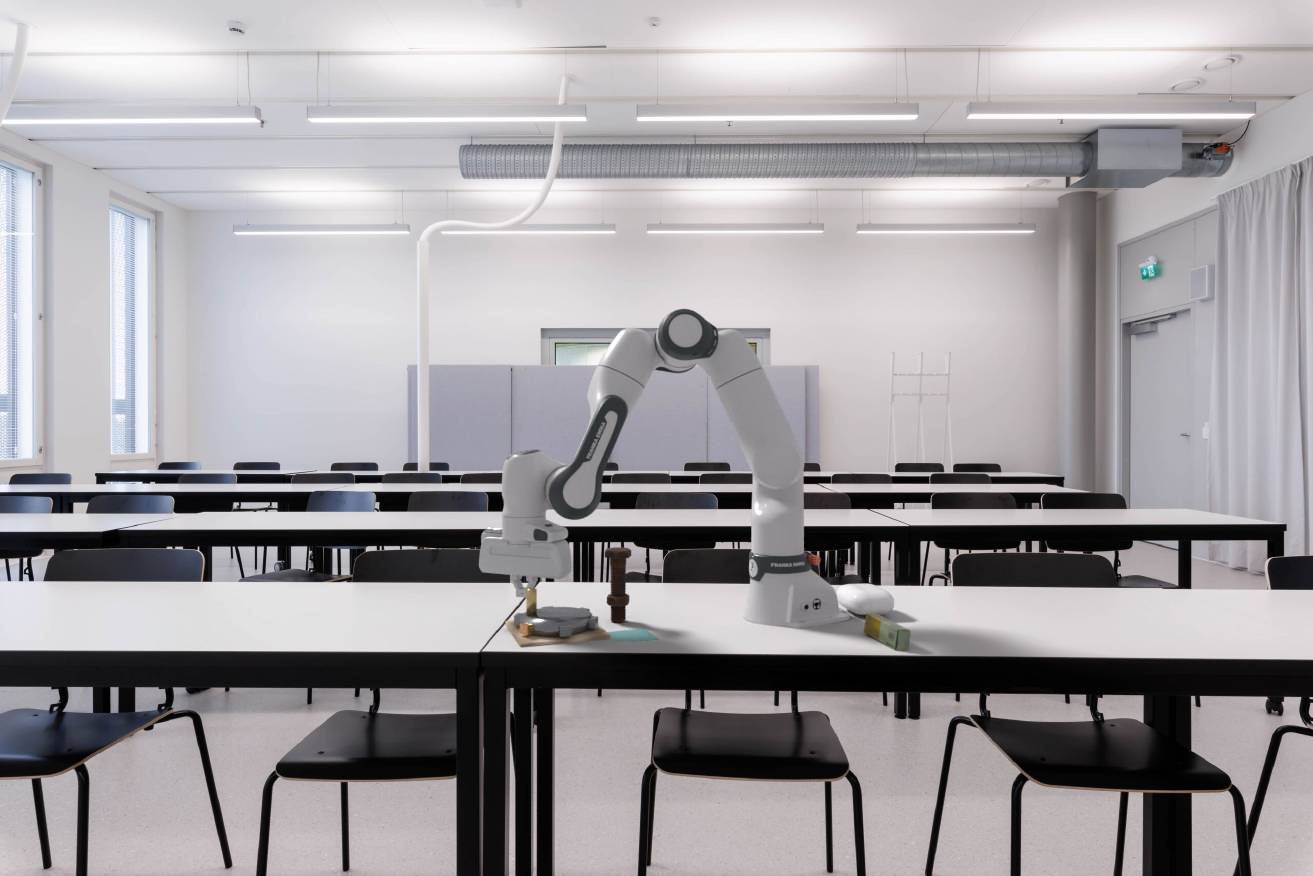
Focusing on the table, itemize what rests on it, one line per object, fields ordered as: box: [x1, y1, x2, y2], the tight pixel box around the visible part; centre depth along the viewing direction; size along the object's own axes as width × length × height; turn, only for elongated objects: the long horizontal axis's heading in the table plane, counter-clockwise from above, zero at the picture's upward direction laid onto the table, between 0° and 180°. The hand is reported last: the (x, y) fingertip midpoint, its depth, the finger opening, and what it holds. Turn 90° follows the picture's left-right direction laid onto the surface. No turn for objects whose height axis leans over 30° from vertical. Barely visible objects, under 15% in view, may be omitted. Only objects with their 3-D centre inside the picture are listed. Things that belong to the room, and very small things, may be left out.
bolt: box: [604, 546, 632, 623], centre depth 152 cm, size 6×5×15 cm
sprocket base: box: [504, 619, 611, 648], centre depth 144 cm, size 17×17×1 cm
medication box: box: [863, 613, 912, 652], centre depth 138 cm, size 12×3×4 cm, turn 13°
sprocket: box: [513, 588, 599, 637], centre depth 144 cm, size 16×15×7 cm
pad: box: [607, 627, 659, 643], centre depth 141 cm, size 8×8×1 cm
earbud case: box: [836, 583, 895, 616], centre depth 161 cm, size 10×13×5 cm
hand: (524, 597), depth 150 cm, fingers closed
